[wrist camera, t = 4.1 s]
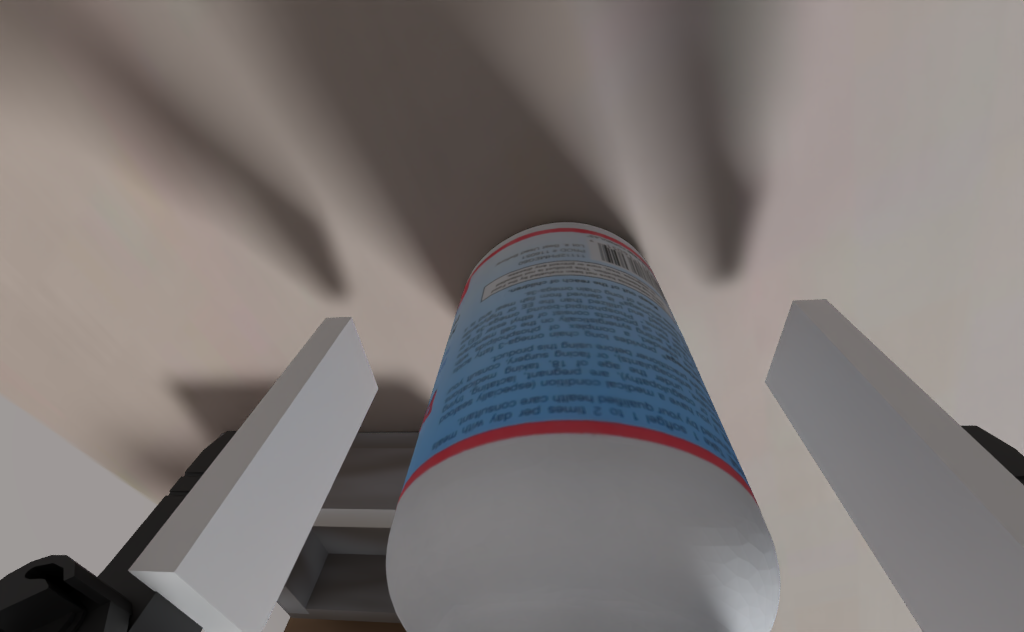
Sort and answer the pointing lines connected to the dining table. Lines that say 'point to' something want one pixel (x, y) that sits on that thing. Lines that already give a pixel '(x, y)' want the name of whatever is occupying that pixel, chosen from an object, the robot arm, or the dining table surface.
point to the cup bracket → (351, 543)
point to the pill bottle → (575, 461)
